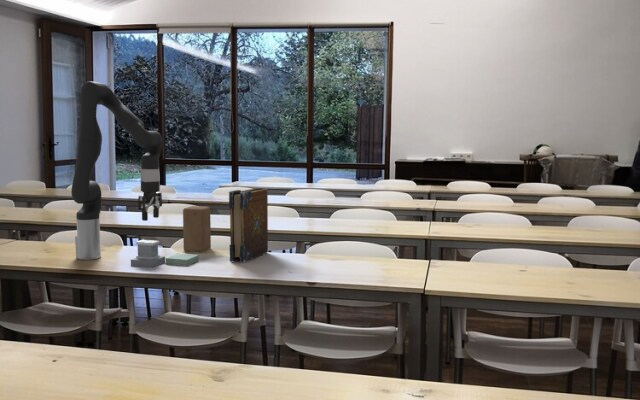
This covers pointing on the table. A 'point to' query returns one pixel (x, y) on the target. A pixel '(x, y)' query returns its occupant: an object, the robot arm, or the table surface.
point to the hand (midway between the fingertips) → (150, 219)
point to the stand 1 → (147, 262)
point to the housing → (147, 249)
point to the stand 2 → (182, 259)
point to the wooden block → (196, 228)
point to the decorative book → (248, 223)
